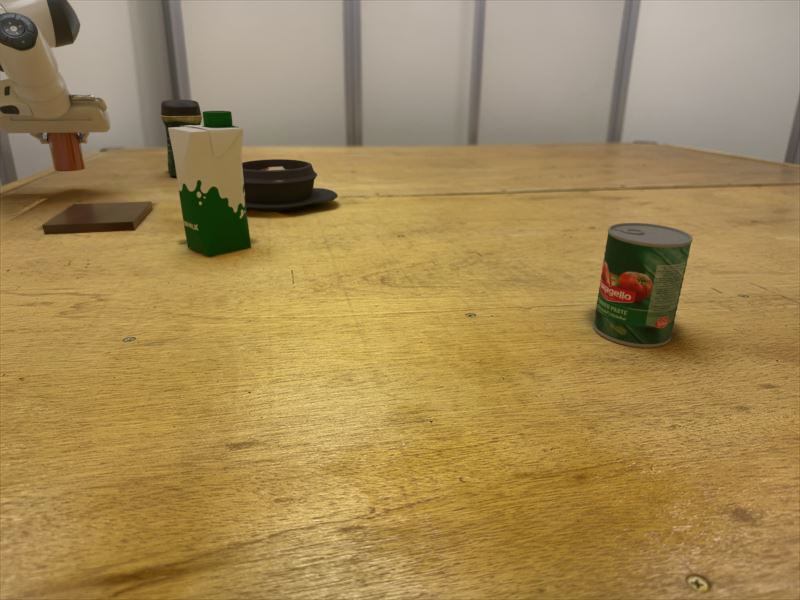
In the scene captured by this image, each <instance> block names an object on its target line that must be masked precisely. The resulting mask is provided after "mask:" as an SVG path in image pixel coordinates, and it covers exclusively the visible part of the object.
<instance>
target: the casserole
mask: <svg viewBox="0 0 800 600" xmlns="http://www.w3.org/2000/svg"><path fill="white" fill-rule="evenodd" d="M242 168H243V179H244V189H245V199H246V209H247V210H250V211H256V212H262V213H284V212H291V211H295V210H300V209H302V208H305V207H307V206H308V205H313V204H320V203H328V202H331V201H334V200H336V199H337V198H338V197H339V195H338V193H337V192H335V191H334V190H332V189H328V188H322V187H321V188H320V187H314V186H315V180H316V178H317V177H318V173H317V172H316V171H315V170H314V166H313V165H312V163H311V162H308V161H305V160H298V159H287V158H285V159H284V158H283V159H282V158H280V159H279V158H278V159H277V158H275V159H272V158H271V159H258V160H257V159H256V160H249V161H244V162H243V161H242Z"/></svg>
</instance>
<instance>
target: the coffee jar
mask: <svg viewBox="0 0 800 600" xmlns="http://www.w3.org/2000/svg"><path fill="white" fill-rule="evenodd" d="M160 118H161V121H162V123H163V125H164V127H165V133H166V146H167V147H166V149H167V168H168V174H169V175H170V176H171V177H176V178H177V174H176V168H175V161H174V155H173V150H172V145H171V140H170V136H169V131H168V128H172V127H184V126H186V125H202V122H203V121H202V120H203V114H202V111H201V107H200V104H199V102H198V101H196V100H192V99H166V100H162V101H161V103H160Z"/></svg>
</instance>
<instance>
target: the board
mask: <svg viewBox="0 0 800 600" xmlns="http://www.w3.org/2000/svg"><path fill="white" fill-rule="evenodd" d="M152 210H153V202H152V201H149V200H148V201H123V202H121V201H120V202H94V203H91V202H90V203H88V202H87V203H73V204H71V205H70V206H69V207H67V208H66V209H64V210H63V211H61V212H59V213H58V214H57V215H55V216H54V217H52V218H51V219H50V220H49V219H48V221H46V222H45V223H43V224H42V225H41V226H42V230H43V234H44V235H51V234H52V235H53V234H54V235H55V234H74V233H79V234H80V233H102V232H121V231H122V232H123V231H124V232H125V231H126V232H127V231H135V230H136V229H137V228H138V227H139V226H140V224H141V223H142V222H143V221H144V220H145V219H146V217H147V216H148V215H149V214H150V213H151V212H152Z"/></svg>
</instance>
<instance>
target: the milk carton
mask: <svg viewBox="0 0 800 600" xmlns="http://www.w3.org/2000/svg"><path fill="white" fill-rule="evenodd" d="M232 115H233V114H232V111H230V110H206V111H202V120H203V121H202V122H203V124H201V125H186V126H184V127H172V128H168V131H169V136H170V140H171V145H172V150H173V155H174V161H175V168H176V174H177V177H176V180H177V181H176V182H177V187H178V195H179V201H180V209H181V214H182V223H183V228H184V234H185V238H186V239H185V241H186V246H187V248H189V249H191V250H193V251H195V252H197V253H199V254H201V255H203V256H205V257H207V258H212V257H215V256H221V255H226V254H231V253H235V252H239V251H245V250H249V249H251V248H252V244H251V243H252V242H251V236H250V228H249V220H248V219H249V218H248V208H246V199H245V189H244V179H243V168H242V163H243V158H242V154H243V152H242V151H243V138H244V129H243V127H239V126H235V125H233V116H232Z"/></svg>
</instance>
